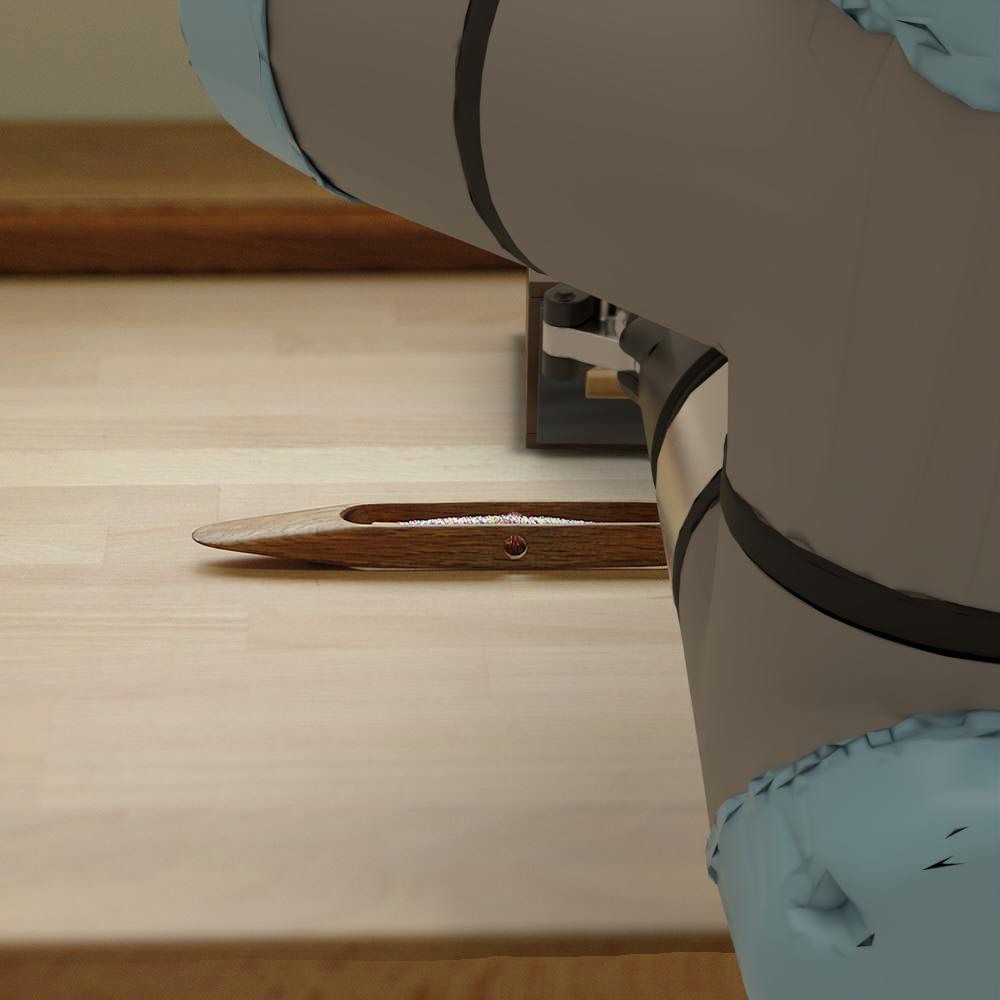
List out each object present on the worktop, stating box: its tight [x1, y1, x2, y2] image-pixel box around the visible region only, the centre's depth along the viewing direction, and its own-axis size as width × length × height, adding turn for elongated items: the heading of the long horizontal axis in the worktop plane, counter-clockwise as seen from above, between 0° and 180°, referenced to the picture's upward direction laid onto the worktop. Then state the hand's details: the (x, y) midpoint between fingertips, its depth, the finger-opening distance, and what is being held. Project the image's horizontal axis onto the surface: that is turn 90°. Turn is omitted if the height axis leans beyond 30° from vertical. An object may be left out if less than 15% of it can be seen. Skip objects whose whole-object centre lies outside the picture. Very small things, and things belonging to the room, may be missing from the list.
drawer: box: [537, 299, 647, 444], centre depth 73 cm, size 18×12×8 cm, turn 179°
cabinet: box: [524, 267, 648, 450], centre depth 77 cm, size 15×13×10 cm
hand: (698, 166), depth 52 cm, fingers closed
